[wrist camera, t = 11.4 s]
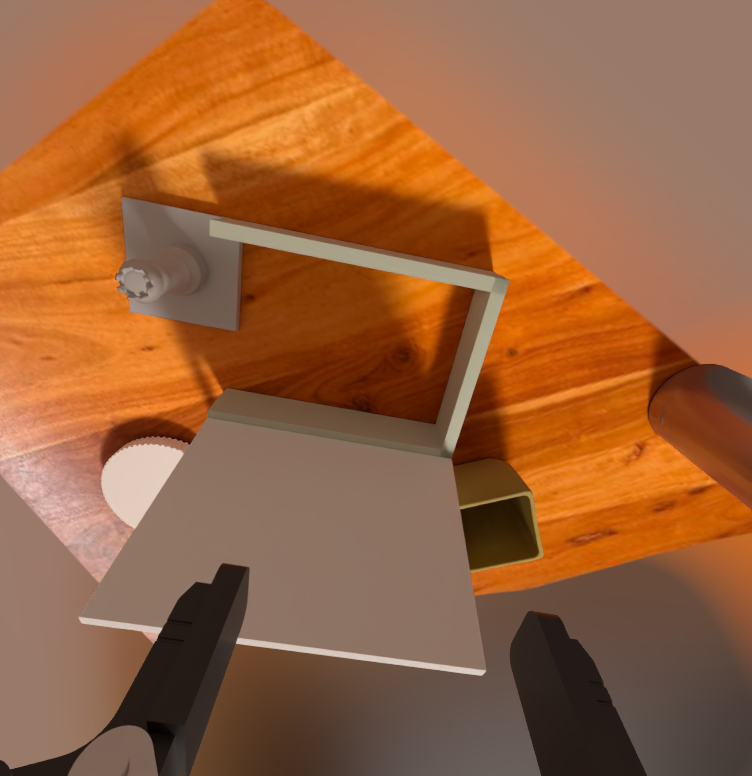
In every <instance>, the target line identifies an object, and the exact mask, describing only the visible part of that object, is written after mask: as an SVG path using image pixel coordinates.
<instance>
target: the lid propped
mask: <svg viewBox="0 0 752 776" xmlns="http://www.w3.org/2000/svg"><path fill="white" fill-rule="evenodd" d="M222 563H226V564H233V565H240V566H246V567H249V568H250V573H249V587H248V600H247V608H246V613H245V617H244V621H243V624H242V627H241V630H240V633H239V636H238V639H237V641H236V644H244V645H251V646H259V647H267V648H275V649H282V650H290V651H298V652H305V653H314V654H320V655H328V656H335V657H343V658H351V659H358V660H366V661H374V662H381V663H390V664H396V665H405V666H412V667H419V668H428V669H435V670H443V671H450V672H458V673H466V674H473V675H480V676H482V675H483V674H484V673H485V671H486V665H485V659H484V654H483V647H482V641H481V635H480V629H479V623H478V617H477V611H476V604H475V598H474V592H473V586H472V580H471V574H470V568H469V562H468V556H467V550H466V543H465V537H464V531H463V525H462V519H461V513H460V507H459V501H458V495H457V489H456V483H455V476H454V470H453V464H452V459H450V458H444V457H438V456H432V455H426V454H420V453H414V452H408V451H402V450H396V449H390V448H384V447H379V446H373V445H367V444H361V443H355V442H349V441H343V440H337V439H331V438H325V437H319V436H313V435H308V434H302V433H296V432H290V431H284V430H278V429H272V428H266V427H260V426H254V425H248V424H242V423H236V422H231V421H225V420H219V419H213V418H207V419H206V420H205V422H204V424H203V425H202V427H201V428H200V430H199V431H198V433H197V434H196V436H195V437H194V439H193V440H192V442H191V444H190V445H189V447H188V448H187V450H186V451H185V453H184V454H183V456H182V457H181V459H180V461H179V462H178V464H177V465H176V467H175V468H174V470H173V471H172V473H171V474H170V476H169V477H168V479H167V481H166V482H165V484H164V485H163V487H162V488H161V490H160V491H159V493H158V494H157V496H156V498H155V499H154V501H153V502H152V504H151V505H150V507H149V508H148V510H147V511H146V513H145V514H144V516H143V518H142V519H141V521H140V522H139V524H138V525H137V527H136V528H135V530H134V531H133V533H132V534H131V536H130V538H129V539H128V541H127V542H126V544H125V545H124V547H123V548H122V550H121V551H120V553H119V555H118V556H117V558H116V559H115V561H114V562H113V564H112V565H111V567H110V568H109V570H108V571H107V573H106V575H105V576H104V578H103V579H102V581H101V582H100V584H99V586H98V587H97V588H96V590H95V591H94V593H93V595H92V596H91V598H90V599H89V601H88V602H87V604H86V606H85V607H84V608H83V610H82V612H81V613H80V615H79V616H78V617H79V619H80V621H81V623H83V624H91V625H99V626H107V627H114V628H122V629H129V630H137V631H144V632H152V633H160V632H161V630H162V628H163V626H164V624H165V623H166V622H167V619H168V617H169V615H170V613H171V612H172V610H173V608H174V606H175V604H176V602H177V600H178V599H179V597H181V596H182V595H183V594H184V593H185V592H186V591H187V590H188V589H189V588H190V587H191V586H192V585H193V584H194V583H195V582H202V583H208V584H211V583H212V581H213V579H214V577H215V575H216V573H217V571H218V569H219V567H220V565H221V564H222Z"/></svg>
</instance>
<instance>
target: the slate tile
mask: <svg viewBox="0 0 752 776" xmlns="http://www.w3.org/2000/svg"><path fill="white" fill-rule="evenodd" d="M121 199H122V213H123V226H124V239H125V252H126V261H128V260H130V259H141V260H152V259H153V257H154V255H155V254H156V253H157V252H158V250H159V249H161V248H163V247H166V246H168V245H171V244H184V245H186V246H188V247H190V248H193V249H194V250H195V251H196V252H197V253H198V254H199V255H200V256H201V257H202V259H203V261H204V263H205V265H206V270H207V279H206V283H205V286H204V287H203V288H202V289H201V290H200V291H199V292H197V293H194V294H192V295H188V296H176V295H173V294H171V293H168V292H166V294H165V295H162V296H160V298H159V299H158V300H157V301H155V302H153V303H150V304H141V303H139V302H136V301H132V300H129V305H130V312H133V313H138V314H144V315H149V316H155V317H160V318H166V319H171V320H176V321H182V322H187V323H193V324H198V325H203V326H209V327H214V328H220V329H225V330H231V331H237V330H238V329H239V322H240V299H241V277H242V254H243V242H238V241H233V240H228V239H223V238H218V237H213V236H210V219H233V218H228V217H223V216H218V215H213V214H208V213H203V212H198V211H193V210H189V209H184V208H179V207H174V206H169V205H164V204H159V203H154V202H149V201H144V200H140V199H135V198H130V197H121ZM233 220H238V219H233ZM238 221H243V220H238Z"/></svg>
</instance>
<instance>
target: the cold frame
mask: <svg viewBox="0 0 752 776" xmlns="http://www.w3.org/2000/svg"><path fill="white" fill-rule="evenodd" d="M210 236H213V237H218V238H223V239H228V240H233V241H238V242H243V243H248V244H253V245H258V246H263V247H268V248H273V249H278V250H283V251H288V252H293V253H298V254H303V255H308V256H313V257H318V258H323V259H328V260H333V261H338V262H343V263H348V264H353V265H358V266H363V267H368V268H373V269H378V270H383V271H388V272H393V273H398V274H403V275H408V276H413V277H418V278H423V279H428V280H433V281H438V282H443V283H448V284H453V285H458V286H463V287H468V288H473V289H475V291H474V295H473V298H472V301H471V305H470V308H469V312H468V315H467V318H466V322H465V325H464V329H463V332H462V335H461V339H460V342H459V346H458V349H457V352H456V356H455V359H454V363H453V366H452V370H451V373H450V376H449V380H448V383H447V387H446V390H445V393H444V397H443V400H442V404H441V407H440V410H439V414H438V417H437V421H436V424H430V423H425V422H419V421H413V420H407V419H402V418H396V417H390V416H384V415H379V414H373V413H367V412H362V411H356V410H350V409H344V408H339V407H333V406H327V405H321V404H316V403H310V402H304V401H299V400H293V399H287V398H281V397H276V396H270V395H264V394H258V393H253V392H247V391H241V390H236V389H230V388H227V389H226V390H225V391H224V392H223V393H222V394H221V395H220V397H219V398H218V399H217V400H216V401H215V402H214V403H213V405H212V406H211V407H210V408H209V409H208V418H213V419H219V420H225V421H231V422H236V423H242V424H248V425H254V426H260V427H266V428H272V429H278V430H284V431H290V432H296V433H302V434H308V435H313V436H319V437H325V438H331V439H337V440H343V441H349V442H355V443H361V444H367V445H373V446H379V447H384V448H390V449H396V450H402V451H408V452H414V453H420V454H426V455H432V456H438V457H444V458H450V459H451V458H452V455H453V452H454V449H455V446H456V443H457V440H458V437H459V434H460V431H461V428H462V425H463V422H464V419H465V416H466V413H467V410H468V407H469V404H470V400H471V397H472V394H473V391H474V388H475V385H476V382H477V379H478V376H479V373H480V370H481V367H482V364H483V361H484V358H485V355H486V352H487V349H488V346H489V342H490V339H491V336H492V333H493V330H494V327H495V324H496V321H497V318H498V315H499V312H500V309H501V306H502V303H503V300H504V297H505V294H506V291H507V288H508V284H509V281H510V280H508V279H506V278H505V277H503V276H501V275H499V274H497V273H495V272H493V271H488V270H483V269H478V268H473V267H468V266H463V265H458V264H453V263H448V262H444V261H439V260H434V259H429V258H424V257H419V256H414V255H409V254H404V253H399V252H395V251H390V250H385V249H380V248H375V247H370V246H365V245H360V244H355V243H350V242H345V241H341V240H336V239H331V238H326V237H321V236H316V235H311V234H306V233H301V232H296V231H292V230H287V229H282V228H277V227H272V226H267V225H262V224H257V223H252V222H247V221H238V220H233V219H210Z"/></svg>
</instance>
